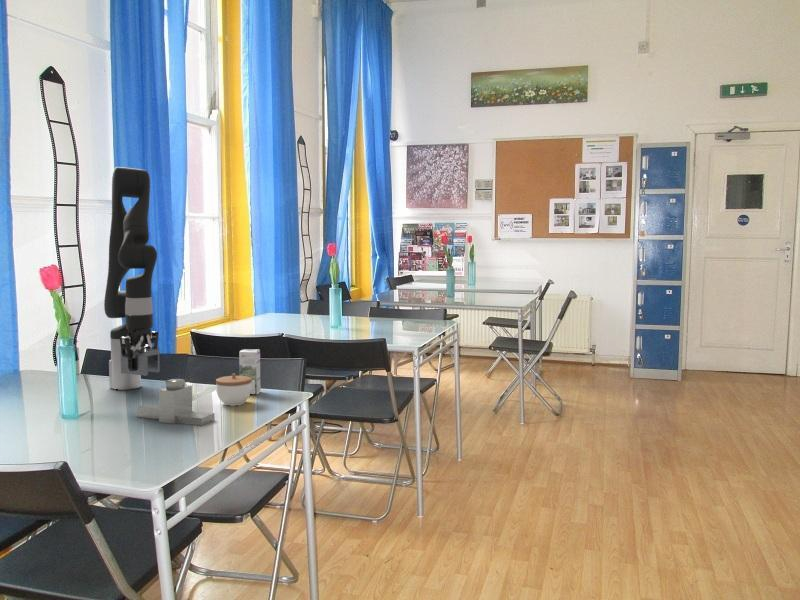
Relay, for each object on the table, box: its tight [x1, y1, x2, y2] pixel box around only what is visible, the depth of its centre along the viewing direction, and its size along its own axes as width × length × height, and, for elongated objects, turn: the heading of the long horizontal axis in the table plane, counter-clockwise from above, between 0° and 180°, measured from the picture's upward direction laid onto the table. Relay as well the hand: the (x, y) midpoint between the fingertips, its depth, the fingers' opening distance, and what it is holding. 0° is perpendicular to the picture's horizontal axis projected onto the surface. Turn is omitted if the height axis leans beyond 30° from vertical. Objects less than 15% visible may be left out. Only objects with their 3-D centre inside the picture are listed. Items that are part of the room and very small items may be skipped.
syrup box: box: [238, 348, 262, 394], centre depth 222 cm, size 6×6×14 cm
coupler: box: [136, 378, 216, 426], centre depth 189 cm, size 23×8×11 cm, turn 71°
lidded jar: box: [215, 372, 252, 407], centre depth 208 cm, size 11×11×9 cm
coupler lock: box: [120, 347, 161, 377], centre depth 200 cm, size 10×6×7 cm, turn 70°
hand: (140, 368), depth 200 cm, fingers closed on coupler lock, 6 cm apart
